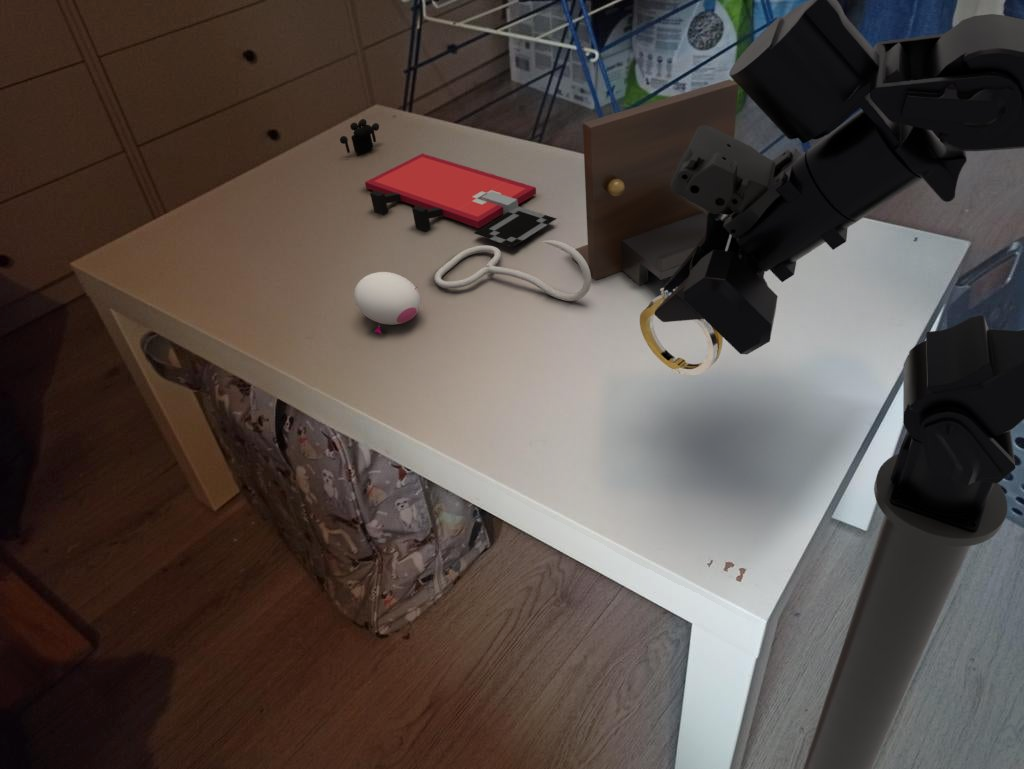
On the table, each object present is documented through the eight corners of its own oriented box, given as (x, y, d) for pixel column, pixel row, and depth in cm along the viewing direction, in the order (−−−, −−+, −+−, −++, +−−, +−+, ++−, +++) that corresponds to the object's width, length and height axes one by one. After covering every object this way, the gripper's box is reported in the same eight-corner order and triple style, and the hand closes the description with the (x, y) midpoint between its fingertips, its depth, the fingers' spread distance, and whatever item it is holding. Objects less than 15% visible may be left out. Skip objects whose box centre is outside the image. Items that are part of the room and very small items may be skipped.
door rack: (768, 262, 89) (789, 105, 78) (632, 313, 85) (632, 155, 73) (698, 214, 99) (706, 68, 87) (571, 258, 94) (563, 110, 83)
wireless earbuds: (380, 143, 126) (373, 112, 122) (389, 147, 124) (382, 116, 121) (343, 158, 123) (335, 127, 119) (351, 163, 121) (343, 131, 118)
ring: (633, 363, 68) (632, 285, 63) (657, 345, 69) (658, 267, 64) (701, 398, 64) (706, 317, 58) (725, 378, 65) (731, 298, 60)
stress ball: (432, 340, 90) (444, 282, 89) (394, 342, 83) (406, 279, 82) (378, 324, 93) (389, 268, 92) (336, 324, 86) (347, 263, 85)
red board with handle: (502, 260, 95) (580, 210, 103) (500, 239, 93) (579, 190, 101) (346, 201, 112) (423, 162, 120) (342, 183, 110) (420, 144, 118)
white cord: (573, 327, 83) (430, 303, 94) (616, 282, 88) (476, 264, 100) (560, 266, 79) (412, 249, 90) (606, 222, 84) (461, 211, 96)
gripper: (769, 45, 57) (620, 179, 67) (728, 161, 44) (553, 303, 54) (868, 155, 59) (709, 267, 70) (857, 295, 46) (665, 406, 57)
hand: (663, 304), depth 63 cm, fingers closed on ring, 3 cm apart
